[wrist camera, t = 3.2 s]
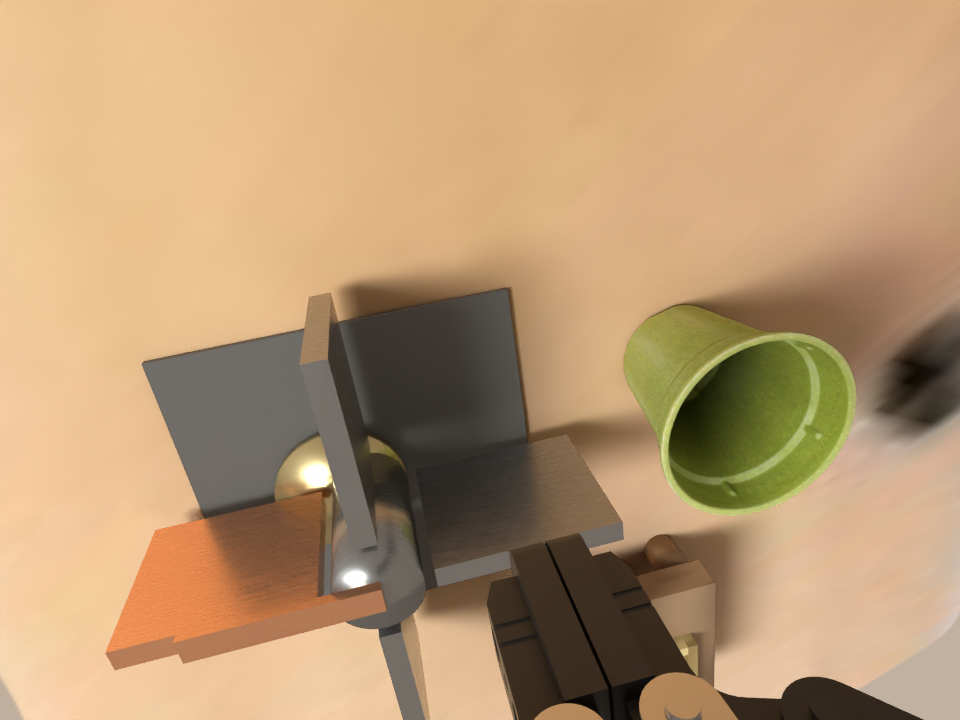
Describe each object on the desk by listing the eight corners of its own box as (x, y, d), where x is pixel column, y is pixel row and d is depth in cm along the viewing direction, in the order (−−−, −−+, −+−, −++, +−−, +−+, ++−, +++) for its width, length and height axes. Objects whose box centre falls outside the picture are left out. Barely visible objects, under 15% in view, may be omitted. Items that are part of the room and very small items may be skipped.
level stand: (675, 528, 42) (736, 611, 35) (677, 647, 47) (731, 739, 40) (527, 566, 41) (562, 659, 34) (544, 685, 45) (578, 786, 39)
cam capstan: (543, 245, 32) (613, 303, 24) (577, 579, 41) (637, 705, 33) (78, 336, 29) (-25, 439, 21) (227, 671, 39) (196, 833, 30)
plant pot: (705, 440, 40) (795, 530, 32) (569, 411, 37) (630, 501, 29) (775, 299, 37) (893, 360, 29) (632, 256, 34) (720, 309, 26)
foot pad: (506, 287, 33) (509, 292, 32) (542, 563, 41) (546, 572, 40) (143, 361, 31) (138, 368, 30) (255, 637, 39) (254, 648, 38)
